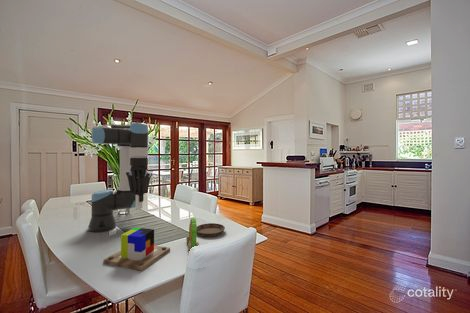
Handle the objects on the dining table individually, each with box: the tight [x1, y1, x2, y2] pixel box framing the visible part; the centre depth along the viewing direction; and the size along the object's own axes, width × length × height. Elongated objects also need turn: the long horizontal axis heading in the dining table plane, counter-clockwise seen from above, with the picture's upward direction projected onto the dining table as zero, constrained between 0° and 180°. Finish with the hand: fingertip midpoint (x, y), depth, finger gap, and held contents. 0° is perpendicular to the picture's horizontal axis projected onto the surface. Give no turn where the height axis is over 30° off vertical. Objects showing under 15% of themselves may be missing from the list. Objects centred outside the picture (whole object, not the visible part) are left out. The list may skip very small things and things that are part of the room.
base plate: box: [103, 244, 171, 272], centre depth 106 cm, size 20×20×2 cm
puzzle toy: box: [120, 227, 155, 260], centre depth 105 cm, size 10×10×10 cm
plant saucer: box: [197, 222, 226, 238], centre depth 138 cm, size 18×18×3 cm
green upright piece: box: [185, 217, 200, 252], centre depth 117 cm, size 16×5×15 cm, turn 17°
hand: (138, 208), depth 105 cm, fingers closed
